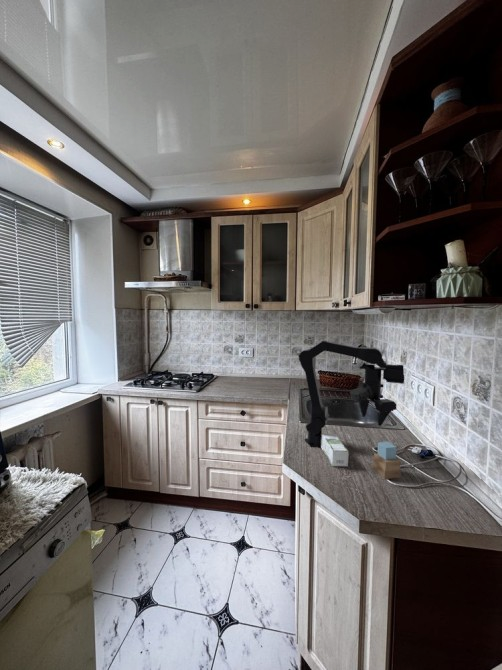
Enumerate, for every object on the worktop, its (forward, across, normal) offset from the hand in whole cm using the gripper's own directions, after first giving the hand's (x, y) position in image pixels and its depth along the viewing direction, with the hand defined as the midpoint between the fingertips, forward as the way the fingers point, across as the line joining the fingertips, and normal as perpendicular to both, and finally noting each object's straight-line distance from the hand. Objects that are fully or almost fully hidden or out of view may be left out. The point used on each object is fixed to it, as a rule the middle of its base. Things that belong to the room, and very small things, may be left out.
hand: (371, 421), depth 101 cm
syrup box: (+10, +6, -16) cm, 20 cm away
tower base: (+13, +12, -3) cm, 18 cm away
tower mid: (+10, +12, -3) cm, 16 cm away
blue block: (+7, +12, -3) cm, 14 cm away
